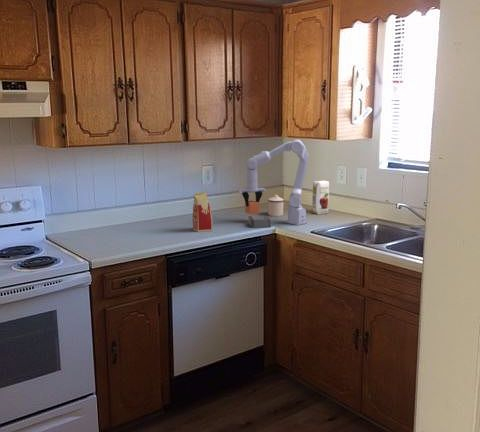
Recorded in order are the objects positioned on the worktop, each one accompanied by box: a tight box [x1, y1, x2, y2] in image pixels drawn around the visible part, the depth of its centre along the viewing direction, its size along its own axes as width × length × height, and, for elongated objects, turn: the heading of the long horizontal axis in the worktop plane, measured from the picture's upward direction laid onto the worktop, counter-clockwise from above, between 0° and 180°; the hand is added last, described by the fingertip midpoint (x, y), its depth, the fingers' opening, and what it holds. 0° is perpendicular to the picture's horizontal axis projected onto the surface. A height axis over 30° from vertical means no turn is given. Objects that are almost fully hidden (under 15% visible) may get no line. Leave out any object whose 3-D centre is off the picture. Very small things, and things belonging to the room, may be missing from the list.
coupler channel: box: [247, 215, 271, 229], centre depth 277 cm, size 10×10×4 cm
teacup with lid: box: [267, 194, 285, 217], centre depth 306 cm, size 12×9×12 cm
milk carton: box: [192, 189, 213, 233], centre depth 266 cm, size 9×9×20 cm
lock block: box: [244, 200, 260, 215], centre depth 286 cm, size 8×5×6 cm, turn 19°
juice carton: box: [311, 179, 330, 216], centre depth 309 cm, size 8×9×19 cm
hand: (252, 205), depth 285 cm, fingers open, 5 cm apart
